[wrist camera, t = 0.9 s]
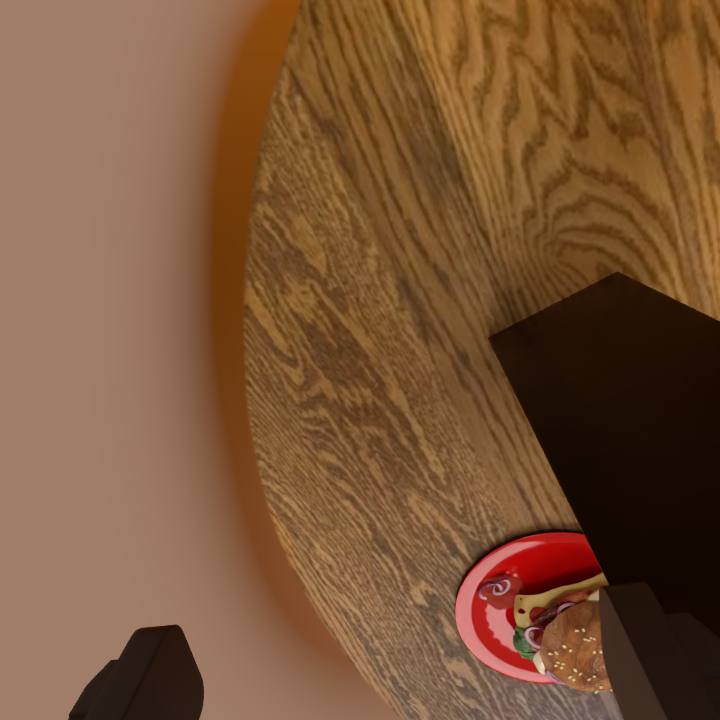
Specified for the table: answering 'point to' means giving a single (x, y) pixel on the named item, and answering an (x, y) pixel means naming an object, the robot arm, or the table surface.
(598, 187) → the table surface
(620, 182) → the table surface
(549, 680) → the hamburger
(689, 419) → the door stand
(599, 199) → the table surface
